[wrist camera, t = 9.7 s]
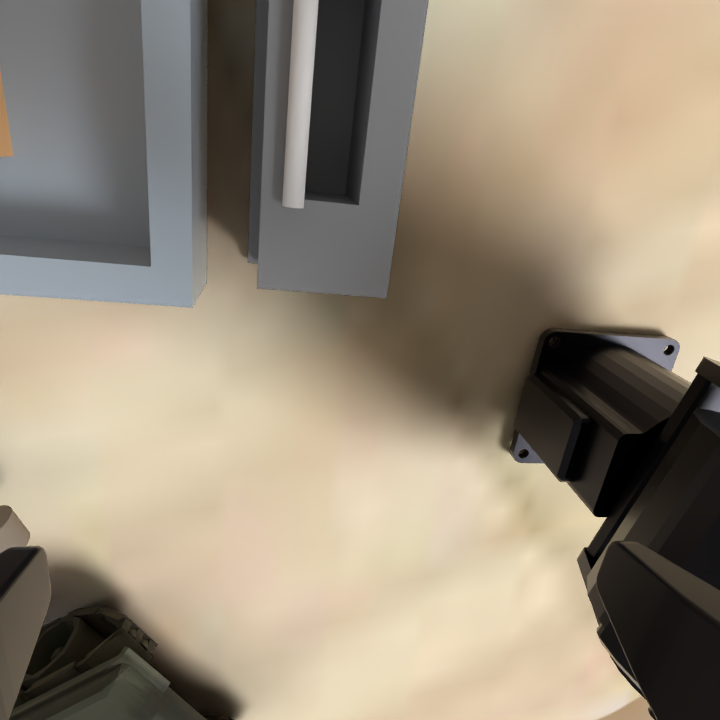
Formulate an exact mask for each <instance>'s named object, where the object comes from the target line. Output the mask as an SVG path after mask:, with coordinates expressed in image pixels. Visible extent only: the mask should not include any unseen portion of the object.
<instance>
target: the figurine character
mask: <svg viewBox="0 0 720 720" xmlns="http://www.w3.org/2000/svg"><path fill="white" fill-rule="evenodd" d="M29 538H30V533H29V531H28V530H27V528H26V527H25V526H24V524H23V523H22V522H21V520H20V519H19V518H18V516H17V515H16V514H15V513H14V511H13V510H12V509H11V507H9V506H5V505H3V506H0V553H1V552H3V551H4V550H6V549H8V548H10V547H14V546H26V545H27V543H28V541H29Z"/></svg>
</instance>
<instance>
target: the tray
mask: <svg viewBox="0 0 720 720" xmlns="http://www.w3.org/2000/svg"><path fill="white" fill-rule="evenodd" d="M207 12H208V0H0V72H1V78H2V85H3V91H4V98H5V105H6V111H7V118H8V124H9V131H10V137H11V144H12V150H13V156H8V157H0V294H4V295H18V296H33V297H47V298H61V299H76V300H90V301H104V302H119V303H133V304H147V305H162V306H176V307H190V308H193V306H194V304H195V303H196V301H197V299H198V297H199V295H200V294H201V292H202V290H203V288H204V287H205V285H206V283H207Z"/></svg>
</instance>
